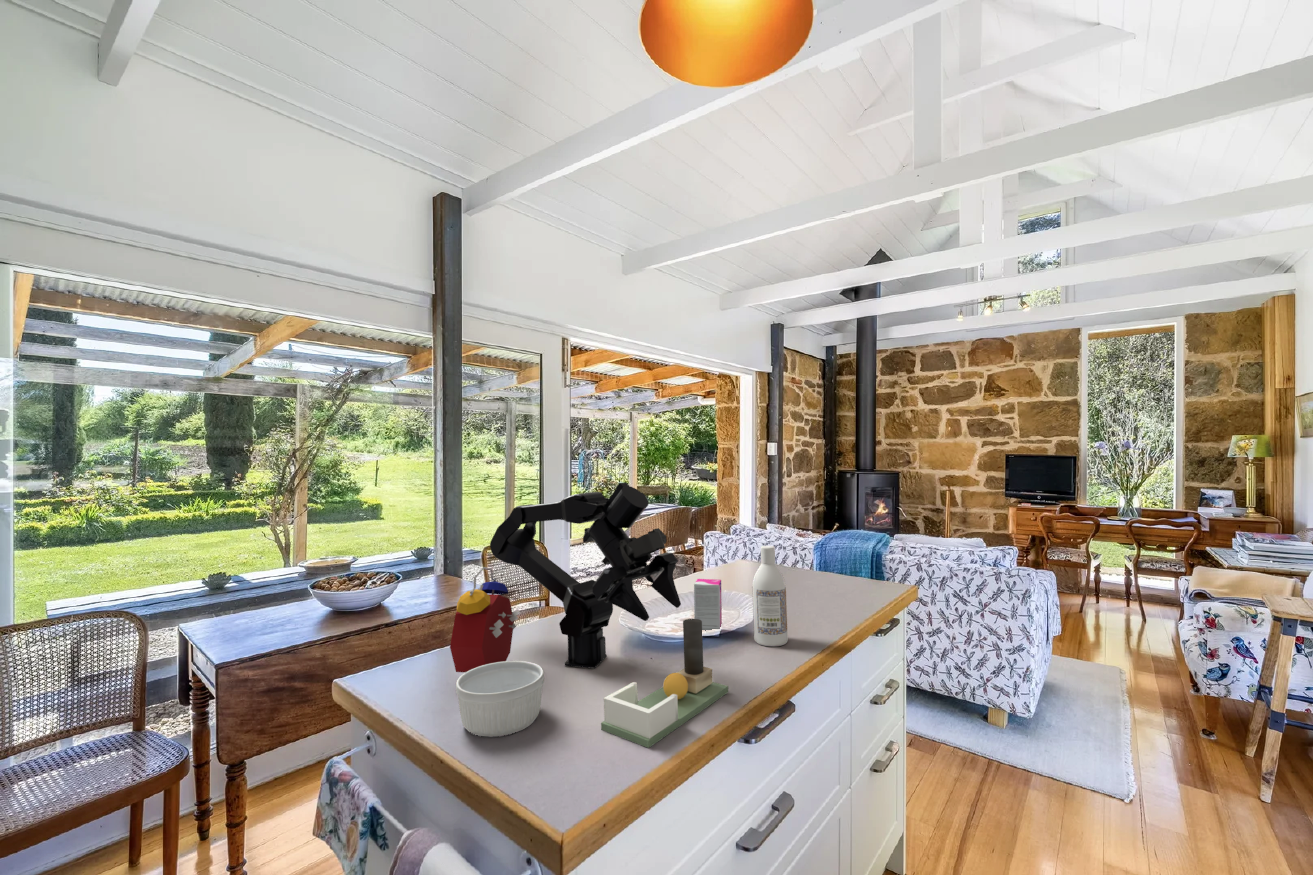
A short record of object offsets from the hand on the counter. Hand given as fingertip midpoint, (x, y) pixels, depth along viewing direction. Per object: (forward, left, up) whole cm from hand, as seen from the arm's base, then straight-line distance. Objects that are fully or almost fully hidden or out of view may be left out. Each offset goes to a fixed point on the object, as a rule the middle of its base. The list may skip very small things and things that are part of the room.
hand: (663, 612), depth 98 cm
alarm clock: (-34, -3, -13) cm, 36 cm away
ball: (+4, -7, -10) cm, 12 cm away
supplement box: (+2, +29, -13) cm, 32 cm away
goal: (+1, -15, -12) cm, 19 cm away
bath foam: (+16, +26, -13) cm, 33 cm away
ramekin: (-21, -18, -13) cm, 31 cm away
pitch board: (+3, -9, -13) cm, 16 cm away
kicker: (+6, -2, -11) cm, 13 cm away
